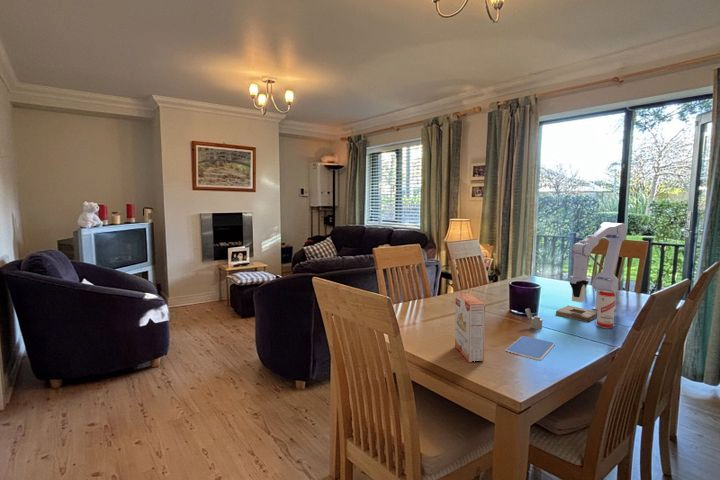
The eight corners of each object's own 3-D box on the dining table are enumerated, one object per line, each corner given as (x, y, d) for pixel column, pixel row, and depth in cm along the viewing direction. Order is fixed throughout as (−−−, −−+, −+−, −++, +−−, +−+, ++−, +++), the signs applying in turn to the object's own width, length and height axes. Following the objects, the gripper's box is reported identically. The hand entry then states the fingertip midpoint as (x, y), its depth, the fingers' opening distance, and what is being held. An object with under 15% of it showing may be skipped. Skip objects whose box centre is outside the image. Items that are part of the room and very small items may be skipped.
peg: (575, 299, 183) (576, 283, 182) (584, 301, 180) (585, 284, 179) (571, 300, 180) (572, 284, 179) (580, 302, 177) (581, 286, 176)
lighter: (542, 329, 162) (543, 311, 161) (540, 330, 161) (541, 311, 160) (525, 324, 167) (526, 307, 166) (523, 325, 166) (524, 308, 165)
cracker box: (453, 347, 143) (455, 293, 140) (469, 346, 143) (470, 293, 141) (467, 363, 129) (468, 303, 127) (484, 362, 129) (486, 303, 127)
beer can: (615, 329, 161) (618, 293, 159) (599, 328, 162) (602, 292, 161) (609, 324, 167) (611, 289, 166) (593, 323, 169) (596, 288, 167)
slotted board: (567, 309, 190) (567, 305, 190) (598, 315, 180) (599, 311, 180) (555, 314, 182) (556, 310, 181) (587, 321, 171) (588, 317, 171)
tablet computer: (540, 362, 130) (540, 359, 130) (504, 352, 139) (504, 349, 139) (555, 346, 145) (555, 342, 145) (521, 338, 153) (522, 335, 153)
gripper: (576, 265, 186) (575, 292, 187) (564, 268, 177) (563, 297, 178) (592, 267, 181) (591, 294, 182) (581, 271, 171) (579, 300, 173)
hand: (578, 296), depth 180 cm, fingers closed on peg, 4 cm apart
